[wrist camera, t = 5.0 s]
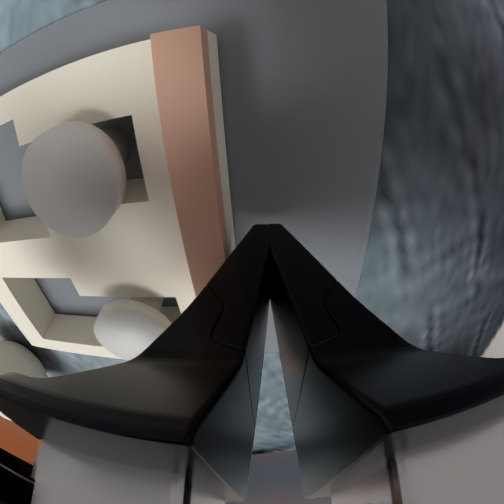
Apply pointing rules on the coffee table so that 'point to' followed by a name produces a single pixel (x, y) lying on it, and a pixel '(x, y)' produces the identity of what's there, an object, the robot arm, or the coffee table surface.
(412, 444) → the robot arm
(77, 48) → the mount board
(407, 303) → the coffee table surface
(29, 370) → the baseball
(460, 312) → the coffee table surface
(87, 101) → the panel
